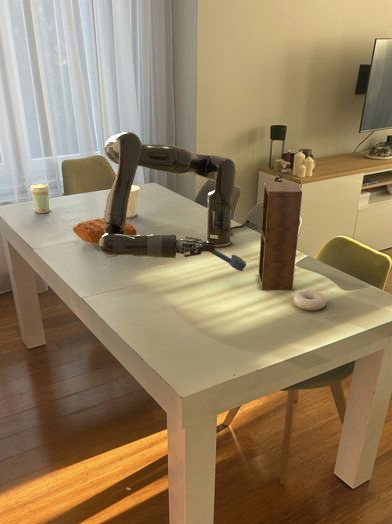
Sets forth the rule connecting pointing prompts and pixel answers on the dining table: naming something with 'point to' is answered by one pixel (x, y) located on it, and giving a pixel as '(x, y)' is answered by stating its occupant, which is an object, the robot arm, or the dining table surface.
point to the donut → (309, 300)
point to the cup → (133, 201)
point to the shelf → (279, 235)
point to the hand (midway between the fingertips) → (214, 246)
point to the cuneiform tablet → (97, 230)
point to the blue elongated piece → (230, 259)
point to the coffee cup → (40, 197)
